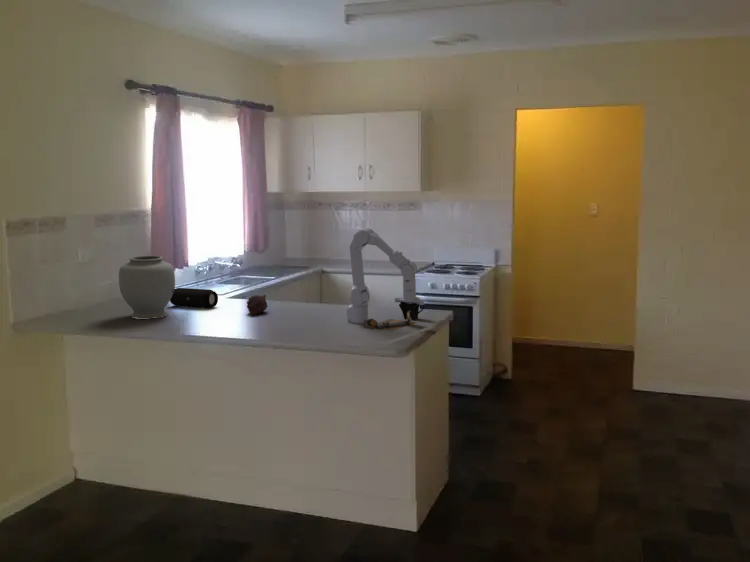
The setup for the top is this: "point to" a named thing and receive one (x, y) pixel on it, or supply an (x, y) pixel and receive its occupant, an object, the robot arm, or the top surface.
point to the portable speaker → (194, 298)
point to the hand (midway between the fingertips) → (409, 319)
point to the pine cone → (257, 304)
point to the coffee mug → (417, 310)
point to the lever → (387, 324)
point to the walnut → (373, 323)
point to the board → (367, 325)
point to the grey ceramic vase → (147, 285)
